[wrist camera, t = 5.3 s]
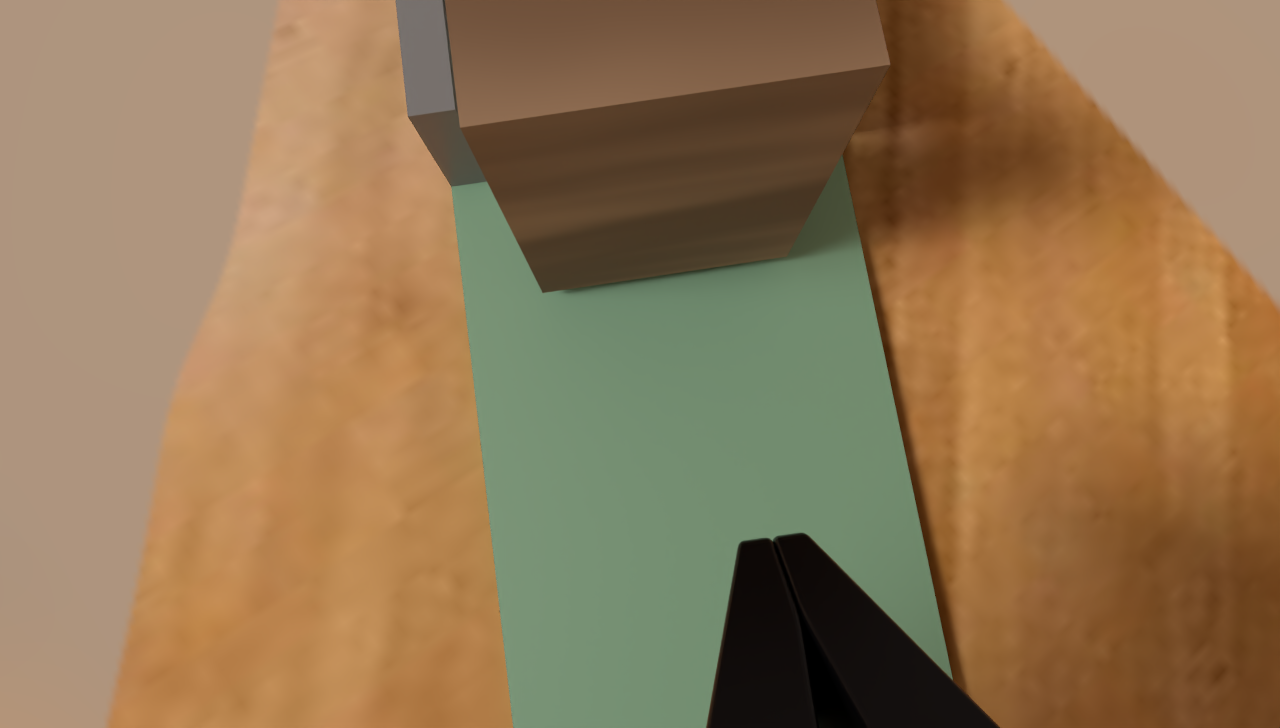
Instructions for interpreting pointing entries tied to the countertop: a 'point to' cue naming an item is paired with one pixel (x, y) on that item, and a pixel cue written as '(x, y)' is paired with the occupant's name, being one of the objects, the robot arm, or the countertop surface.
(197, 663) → the countertop surface
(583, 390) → the strip
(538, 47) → the upright walnut wood block
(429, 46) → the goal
